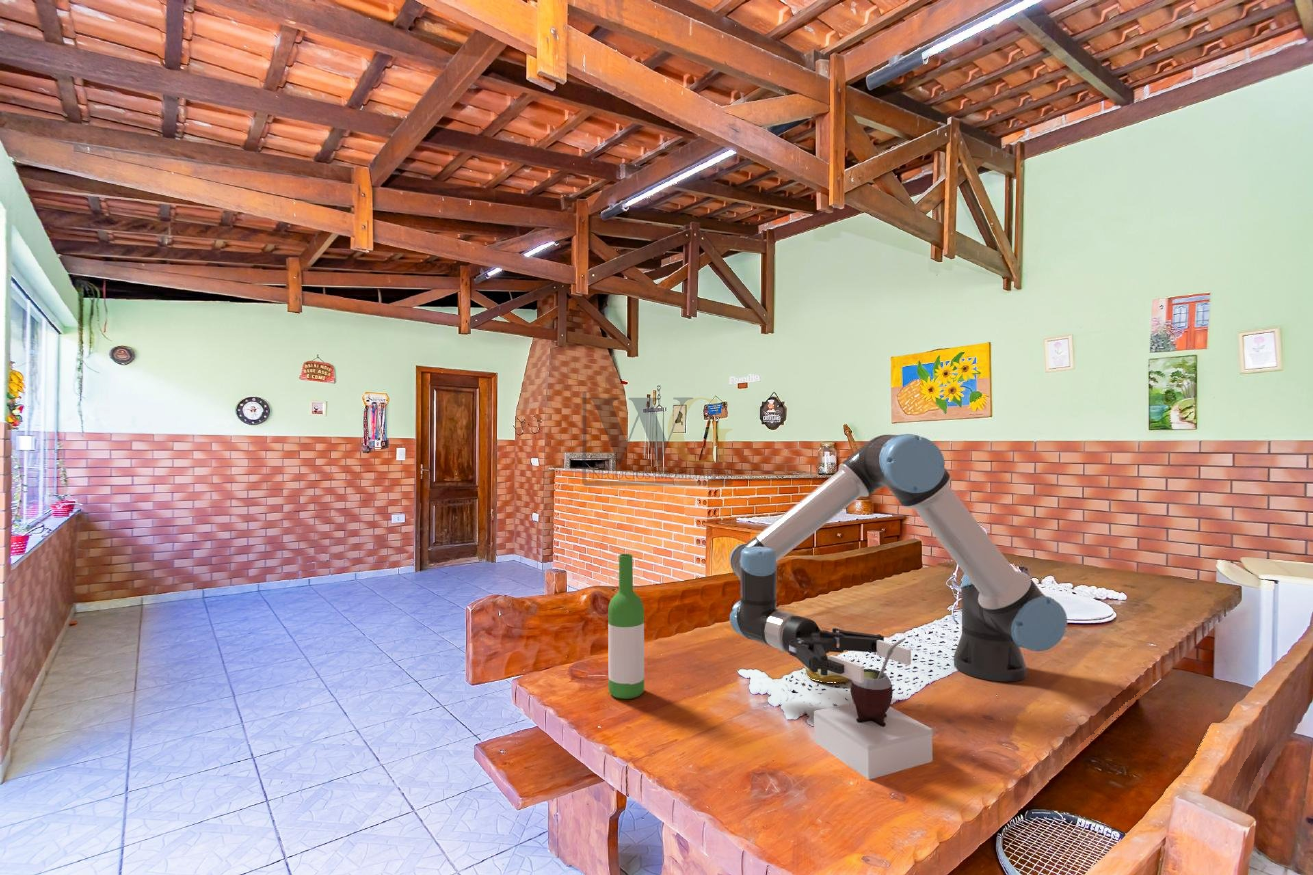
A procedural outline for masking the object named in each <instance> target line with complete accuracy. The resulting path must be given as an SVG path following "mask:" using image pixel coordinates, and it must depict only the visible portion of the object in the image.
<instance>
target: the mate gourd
mask: <svg viewBox="0 0 1313 875" xmlns="http://www.w3.org/2000/svg"><path fill="white" fill-rule="evenodd" d="M905 640H906V637H903V638H901V639H900V640H898V641H896V642H894V643H892V644H893V645H892V646H891V647H890V648H889V649H888V651H887V655H886V658H885V657H884V658H885V659H884V661H883V664H882V666H881V669H880V670H878V669H875V668H873V669H872V668H864V682H863V683H859V682H856V681H854V680H851V683H850V689H849V690H850V695H851V698H852V703H853V702H854V704H855V705H856V711H857V715H858V718H857V719H856V720H857V722H858V723H862V722H867V721H873V722H875V723H876V724H878V725H880V726H882V727H884V726H885V725H886V724H885V723H884V718H885V717H887V714H886V712H887V710H888V709H889V707H891V704H892V701H893V686H892V681H891V679H890V678H889V676H888V675H887V674H886V673H885V669H886V668H887V665H888V662H889V660H890V659H889V657H890V655H891V654H892V652H893V649H894V648H895V647H896V646H897V645H898V646H900V644H901V643H903V642H904V641H905Z"/></svg>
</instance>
